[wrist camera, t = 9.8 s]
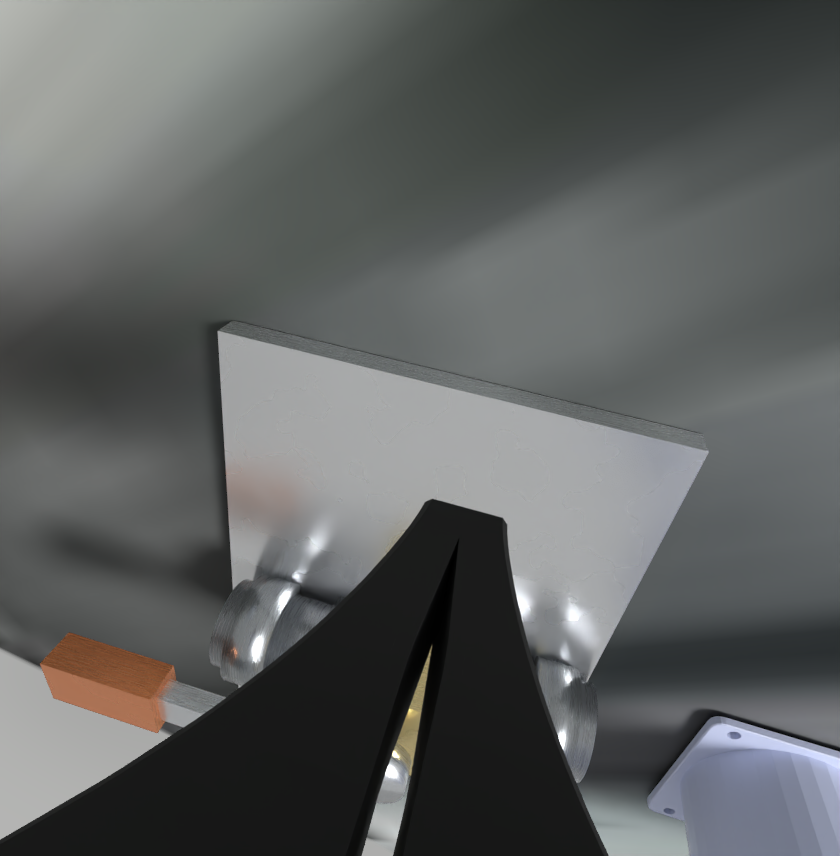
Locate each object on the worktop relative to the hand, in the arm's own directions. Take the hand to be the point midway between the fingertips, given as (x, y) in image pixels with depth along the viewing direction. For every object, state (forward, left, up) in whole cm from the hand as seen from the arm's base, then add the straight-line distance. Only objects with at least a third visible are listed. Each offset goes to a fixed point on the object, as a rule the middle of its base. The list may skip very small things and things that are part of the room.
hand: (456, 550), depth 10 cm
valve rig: (+2, +12, -9) cm, 16 cm away
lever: (+7, +14, -4) cm, 16 cm away
